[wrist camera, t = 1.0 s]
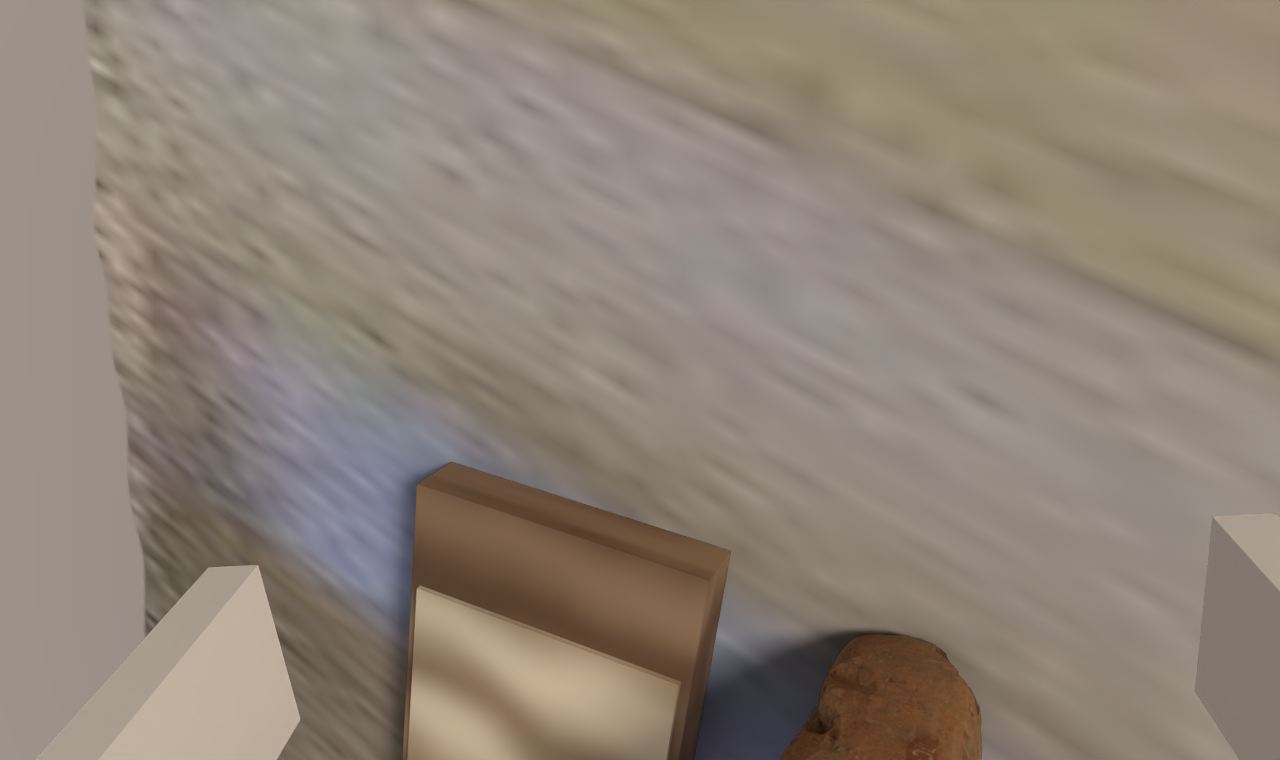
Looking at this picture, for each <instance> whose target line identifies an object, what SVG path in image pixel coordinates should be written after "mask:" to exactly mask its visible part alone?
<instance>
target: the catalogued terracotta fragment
mask: <svg viewBox="0 0 1280 760" xmlns="http://www.w3.org/2000/svg"><path fill="white" fill-rule="evenodd" d="M981 758H982V737H981V715H980V708H979V705H978V703H977V701H976V698H975V696H974V694H973V692H972V690H971V688H970V687H969V686H968V685H967V683H965V681H964V680H963V679H962V677H961V676H960V675H959V674H958V671H957V670H956V669H955V667H954V666H953V665H952V664H951V663H950V662H949V660H948V658H947V655H946V653H945V652H943V651H942V650H941V649H940V648H939V647H937V646H936V645H934V644H933V643H929V642H926V641H922V640H918V639H915V638H912V637H909V636H902V635H883V634H869V635H864V636H859V637H854V638H853V639H852V640H851V641H850V642H849V643H848V644H847V645H846V646H845V647H844V648H843V649H842V650H841V652H840V653H839V655H838V657H837V658H836V660H835V662H834V663H833V665H832V666H831V668H830V670H829V672H828V674H827V677H826V679H825V680H824V681H823V684H822V688H821V691H820V697H819V706H818V707H817V708H815V709H814V711H813V714H812V716H811V718H810V719H809V721H808V722H807V723H806V724H805V725H804V727H803V729H802V731H800V733H799V734H798V735H797V736H796V738H795V739H794V740H793V741H792V742H791V744H790V746H789V747H788V748H787V749H786V750H785V752H784V753H783V755H782V757H781V758H780V760H981Z"/></svg>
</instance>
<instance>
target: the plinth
mask: <svg viewBox="0 0 1280 760" xmlns="http://www.w3.org/2000/svg"><path fill="white" fill-rule="evenodd" d="M730 553H731V551H729V550H726V549H723V548H720V547H717V546H714V545H710V544H707V543H704V542H701V541H698V540H695V539H692V538H688V537H685V536H682V535H679V534H676V533H673V532H670V531H666V530H663V529H660V528H657V527H654V526H651V525H648V524H645V523H641V522H638V521H635V520H632V519H629V518H626V517H623V516H619V515H616V514H613V513H610V512H607V511H604V510H601V509H597V508H594V507H591V506H588V505H585V504H582V503H579V502H575V501H572V500H569V499H566V498H563V497H560V496H557V495H553V494H550V493H547V492H544V491H541V490H538V489H535V488H531V487H528V486H525V485H522V484H519V483H516V482H513V481H510V480H506V479H503V478H500V477H497V476H494V475H491V474H488V473H484V472H481V471H478V470H475V469H472V468H469V467H466V466H462V465H459V464H456V463H453V462H451V463H449V464H448V465H446V466H444V467H443V468H441V469H440V470H438V471H437V472H435V473H433V474H432V475H430V476H429V477H427V478H426V479H424V480H422V481H421V482H419V483H418V484H417V494H416V513H415V532H414V551H413V570H412V589H411V608H410V627H409V646H408V665H407V684H406V703H405V722H404V741H403V760H694V756H695V750H696V744H697V739H698V733H699V728H700V722H701V716H702V711H703V705H704V699H705V694H706V688H707V683H708V677H709V671H710V666H711V660H712V655H713V649H714V643H715V638H716V632H717V626H718V621H719V615H720V610H721V604H722V598H723V593H724V587H725V581H726V576H727V570H728V565H729V559H730Z"/></svg>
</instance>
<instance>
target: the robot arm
mask: <svg viewBox="0 0 1280 760" xmlns="http://www.w3.org/2000/svg"><path fill="white" fill-rule="evenodd" d="M1195 692H1196V694H1197V695H1198V697H1199V698H1200V700H1201V701H1202V703H1203V704H1204V706H1205V707H1206V709H1207V711H1208V712H1209V714H1210V715H1211V717H1212V718H1213V720H1214V721H1215V723H1216V724H1217V726H1218V727H1219V729H1220V730H1221V732H1222V733H1223V735H1224V737H1225V738H1226V740H1227V741H1228V743H1229V744H1230V746H1231V747H1232V749H1233V750H1234V752H1235V753H1236V755H1237V756H1238V758H1239V760H1280V518H1279V517H1278V516H1277V515H1276V514H1275V513H1273V514H1253V515H1233V516H1214V517H1212V527H1211V536H1210V546H1209V556H1208V566H1207V576H1206V586H1205V595H1204V605H1203V615H1202V625H1201V635H1200V644H1199V654H1198V664H1197V674H1196V684H1195ZM299 721H300V716H299V712H298V709H297V705H296V701H295V698H294V694H293V691H292V687H291V683H290V680H289V676H288V672H287V669H286V665H285V661H284V658H283V654H282V650H281V647H280V643H279V640H278V636H277V632H276V629H275V625H274V621H273V618H272V614H271V610H270V607H269V603H268V600H267V596H266V592H265V589H264V585H263V581H262V578H261V574H260V570H259V567H258V565H247V566H228V567H208V568H207V570H206V571H205V572H204V573H203V574H202V575H201V576H200V577H199V578H198V580H197V581H196V582H195V583H194V584H193V585H192V586H191V587H190V588H189V590H188V591H187V592H186V593H185V594H184V595H183V596H182V597H181V598H180V600H179V601H178V602H177V603H176V604H175V605H174V606H173V607H172V608H171V610H170V611H169V612H168V613H167V614H166V615H165V616H164V617H163V618H162V620H161V621H160V622H159V623H158V624H157V625H156V626H155V627H154V628H153V630H152V631H151V632H150V633H149V634H148V635H147V636H146V637H145V638H144V640H143V641H142V642H141V643H140V644H139V645H138V646H137V647H136V648H135V649H134V651H133V652H132V653H131V654H130V655H129V656H128V657H127V658H126V659H125V661H124V662H123V663H122V664H121V665H120V666H119V667H118V668H117V669H116V671H115V672H114V673H113V674H112V675H111V676H110V677H109V678H108V680H107V681H106V682H105V683H104V684H103V685H102V686H101V687H100V688H99V689H98V691H97V692H96V693H95V694H94V695H93V696H92V697H91V698H90V699H89V701H88V702H87V703H86V704H85V705H84V706H83V707H82V708H81V710H80V711H79V712H78V713H77V714H76V715H75V716H74V717H73V718H72V719H71V721H70V722H69V723H68V724H67V725H66V726H65V727H64V728H63V729H62V731H61V732H60V733H59V734H58V735H57V736H56V737H55V738H54V739H53V741H52V742H51V743H50V744H49V745H48V746H47V747H46V748H45V750H43V752H42V753H41V754H40V755H39V756H38V757H37V758H36V759H35V760H277V758H278V757H279V755H280V753H281V751H282V750H283V748H284V746H285V745H286V743H287V741H288V740H289V738H290V736H291V734H292V733H293V731H294V729H295V728H296V726H297V724H298V723H299Z"/></svg>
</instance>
